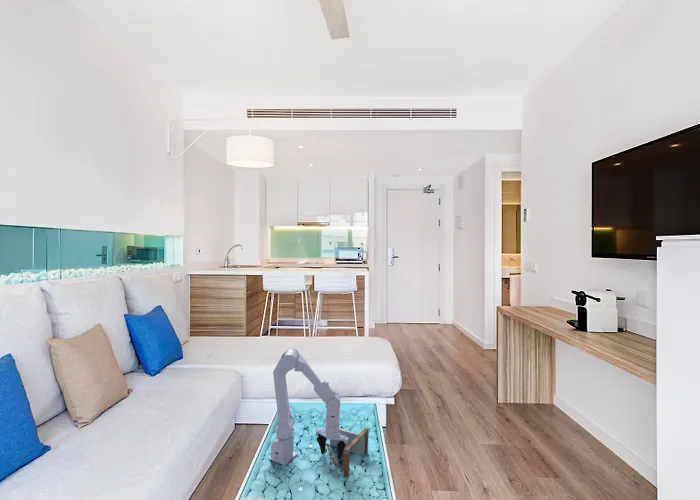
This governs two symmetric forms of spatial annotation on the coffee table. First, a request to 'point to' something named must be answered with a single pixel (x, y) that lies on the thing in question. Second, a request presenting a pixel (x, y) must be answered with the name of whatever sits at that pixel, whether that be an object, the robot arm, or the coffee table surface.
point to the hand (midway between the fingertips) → (331, 455)
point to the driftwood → (336, 459)
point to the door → (358, 448)
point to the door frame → (350, 447)
